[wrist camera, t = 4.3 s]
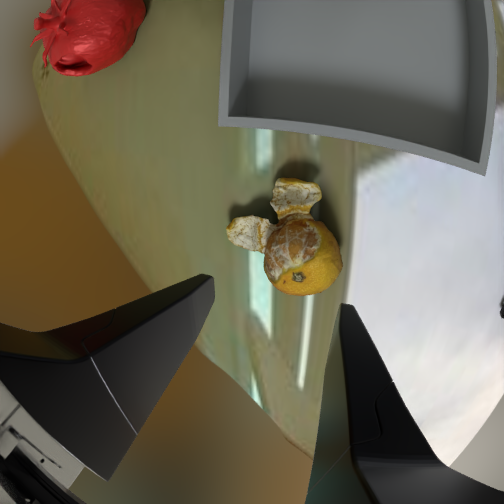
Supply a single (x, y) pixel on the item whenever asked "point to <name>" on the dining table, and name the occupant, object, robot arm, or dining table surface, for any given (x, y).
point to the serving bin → (365, 73)
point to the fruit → (292, 240)
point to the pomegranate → (88, 33)
